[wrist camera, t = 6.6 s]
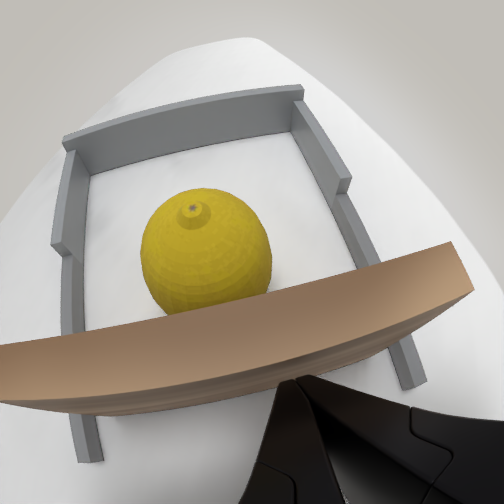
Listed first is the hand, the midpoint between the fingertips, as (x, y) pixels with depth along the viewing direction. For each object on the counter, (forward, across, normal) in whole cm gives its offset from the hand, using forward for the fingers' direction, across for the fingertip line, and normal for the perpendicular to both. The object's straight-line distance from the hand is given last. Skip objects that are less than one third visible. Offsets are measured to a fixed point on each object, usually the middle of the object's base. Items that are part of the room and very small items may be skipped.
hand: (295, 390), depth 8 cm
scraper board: (+6, -2, -4) cm, 8 cm away
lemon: (+10, -2, -1) cm, 10 cm away
